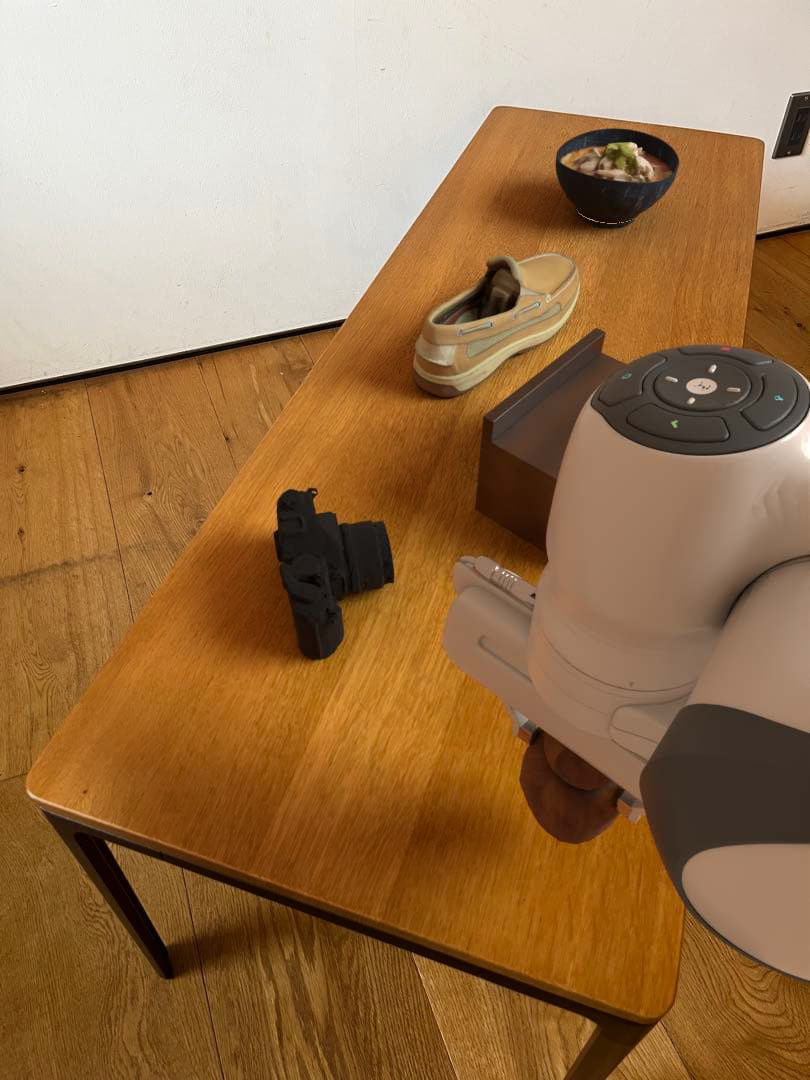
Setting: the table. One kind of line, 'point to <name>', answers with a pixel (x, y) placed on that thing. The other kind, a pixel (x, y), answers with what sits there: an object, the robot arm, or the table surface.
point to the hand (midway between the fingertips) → (578, 769)
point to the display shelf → (536, 438)
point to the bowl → (615, 174)
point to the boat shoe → (494, 321)
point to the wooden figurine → (567, 792)
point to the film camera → (326, 567)
